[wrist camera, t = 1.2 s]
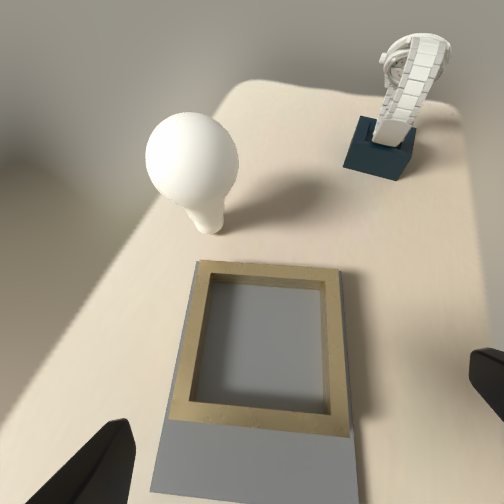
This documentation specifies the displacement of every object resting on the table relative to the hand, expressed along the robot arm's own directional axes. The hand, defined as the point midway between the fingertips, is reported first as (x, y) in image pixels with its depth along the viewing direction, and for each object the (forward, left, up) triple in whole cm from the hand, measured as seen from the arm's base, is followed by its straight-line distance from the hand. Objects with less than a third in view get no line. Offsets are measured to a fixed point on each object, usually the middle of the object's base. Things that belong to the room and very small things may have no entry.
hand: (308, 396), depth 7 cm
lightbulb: (+14, +7, -14) cm, 20 cm away
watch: (+24, -9, -14) cm, 29 cm away
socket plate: (+2, +1, -13) cm, 14 cm away
